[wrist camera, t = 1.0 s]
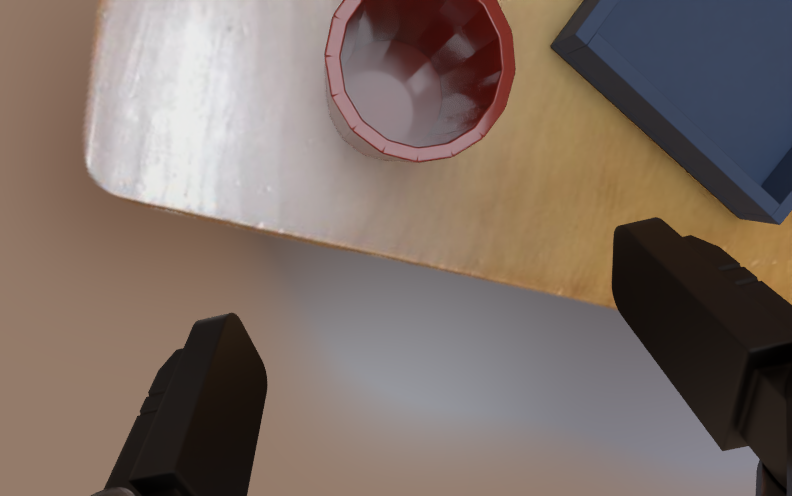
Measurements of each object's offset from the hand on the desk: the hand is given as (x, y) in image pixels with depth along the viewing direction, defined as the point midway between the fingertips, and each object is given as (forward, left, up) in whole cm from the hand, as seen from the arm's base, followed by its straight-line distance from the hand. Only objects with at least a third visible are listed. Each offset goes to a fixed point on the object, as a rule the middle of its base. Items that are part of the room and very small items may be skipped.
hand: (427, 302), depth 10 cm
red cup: (-3, +5, -15) cm, 17 cm away
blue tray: (+10, +19, -15) cm, 27 cm away
